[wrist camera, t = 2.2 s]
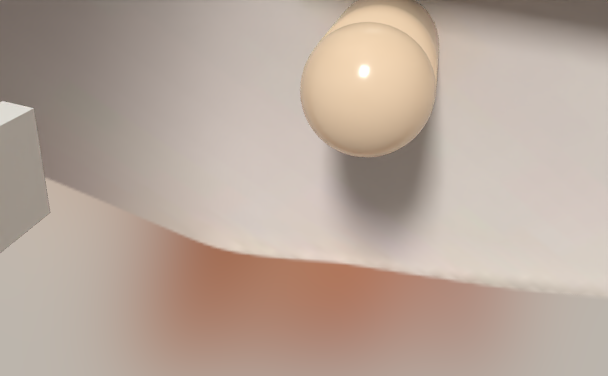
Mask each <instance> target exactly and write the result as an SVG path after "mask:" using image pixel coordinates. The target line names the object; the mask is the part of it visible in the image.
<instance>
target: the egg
mask: <svg viewBox="0 0 608 376" xmlns="http://www.w3.org/2000/svg"><path fill="white" fill-rule="evenodd" d="M438 54H439V37H438V32H437V29H436V26H435V23H434V21H433V20H432V18H431V16H430V15H429V13H428V12H427V11H426V10H425V9H424V8H423V7H422V6H421V5H420V4H419V3H417V2H416V1H415V0H358V1H356V2H354V3H353V4H352V5H351V6H350V7H348V8H347V10H346V11H345V12H344V13H343V14H342V15H341V16H340V18H339V19H338V20H337V21H336V23H335V24H334V25H333V26H332V27H331V29H330V30H329V31H328V32H327V33H326V35H325V36H324V37H323V38H322V39H321V41H320V42H319V43H318V44H317V45H316V47H315V48H314V50H313V51H312V53H311V54H310V56H309V58H308V60H307V62H306V64H305V67H304V70H303V73H302V78H301V87H300V95H301V103H302V107H303V111H304V114H305V117H306V119H307V121H308V123H309V125H310V126H311V128H312V129H313V131H314V132H315V133H316V134H317V136H318V137H319V138H320V139H322V140H323V141H324V142H325V143H326V144H327V145H329V146H330V147H332V148H333V149H335V150H337V151H339V152H342V153H344V154H347V155H351V156H356V157H378V156H383V155H386V154H389V153H392V152H394V151H396V150H399V149H400V148H402V147H403V146H405V145H407V144H408V143H409V142H410V141H412V140H413V139H414V138H415V137H416V136H417V135H418V134H419V133H420V131H421V130H422V129H423V127H424V126H425V124H426V123H427V121H428V119H429V117H430V115H431V112H432V109H433V106H434V102H435V96H436V83H437V69H438Z"/></svg>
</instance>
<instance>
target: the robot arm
mask: <svg viewBox="0 0 608 376" xmlns="http://www.w3.org/2000/svg"><path fill="white" fill-rule="evenodd" d="M49 213H50V208H49V202H48V195H47V189H46V182H45V176H44V170H43V163H42V157H41V150H40V144H39V138H38V131H37V125H36V118H35V112H34V108H31V107H26V106H22V105H18V104H13V103H9V102H4V101H2V102H0V253H1V252H2V251H3V250H4V249H6V248H7V247H8V246H10V245H11V244H12V243H13V242H15V241H16V240H17V239H18V238H20V237H21V236H22V235H23V234H24V233H26V232H27V231H28V230H29V229H31V228H32V227H33V226H34V225H36V224H37V223H38V222H39V221H41V220H42V219H43V218H44V217H45V216H47V215H48V214H49Z"/></svg>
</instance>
